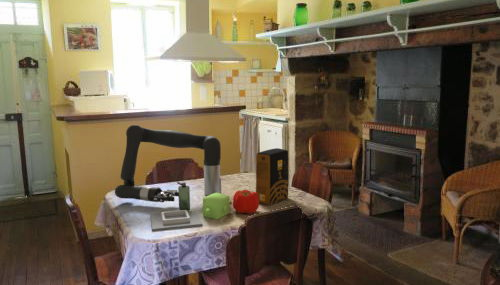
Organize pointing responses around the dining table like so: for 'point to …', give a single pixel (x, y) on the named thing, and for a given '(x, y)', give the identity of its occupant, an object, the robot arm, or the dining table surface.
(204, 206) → the gearbox
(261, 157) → the black and gold box
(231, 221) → the dining table surface
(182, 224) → the pad
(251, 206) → the tomato
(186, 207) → the spout can
